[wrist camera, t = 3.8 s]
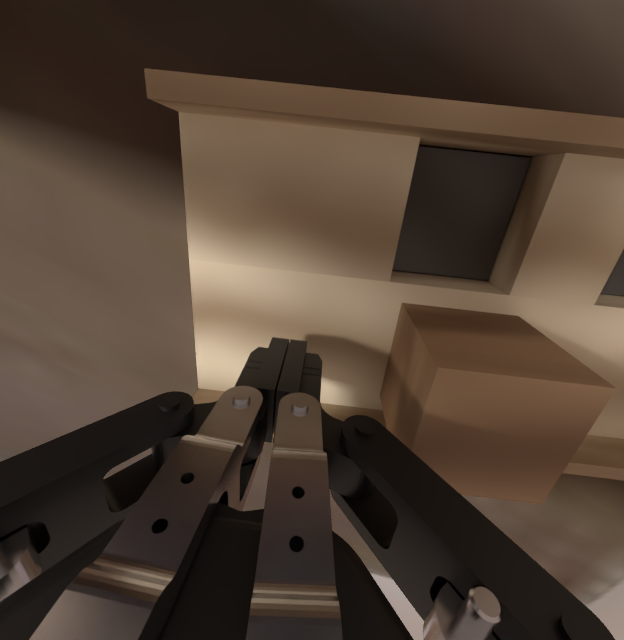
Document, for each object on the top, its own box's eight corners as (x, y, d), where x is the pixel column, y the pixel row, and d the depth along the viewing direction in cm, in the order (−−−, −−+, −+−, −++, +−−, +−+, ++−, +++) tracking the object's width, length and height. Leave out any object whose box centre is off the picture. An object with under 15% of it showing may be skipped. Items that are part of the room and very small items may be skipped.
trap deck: (199, 100, 12) (121, 55, 8) (907, 175, 12) (1263, 173, 7) (212, 376, 18) (172, 443, 13) (692, 433, 18) (818, 523, 13)
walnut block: (401, 302, 13) (437, 367, 9) (518, 316, 13) (616, 388, 9) (379, 395, 15) (399, 486, 11) (480, 407, 15) (542, 504, 11)
